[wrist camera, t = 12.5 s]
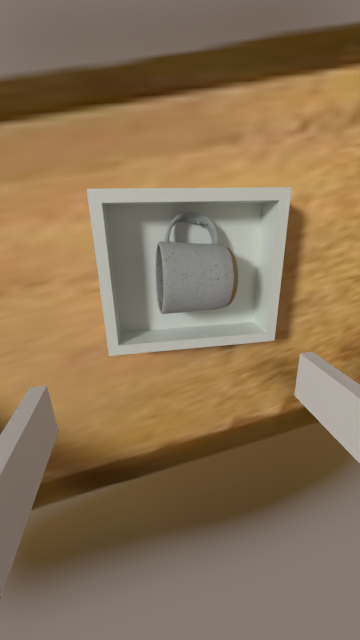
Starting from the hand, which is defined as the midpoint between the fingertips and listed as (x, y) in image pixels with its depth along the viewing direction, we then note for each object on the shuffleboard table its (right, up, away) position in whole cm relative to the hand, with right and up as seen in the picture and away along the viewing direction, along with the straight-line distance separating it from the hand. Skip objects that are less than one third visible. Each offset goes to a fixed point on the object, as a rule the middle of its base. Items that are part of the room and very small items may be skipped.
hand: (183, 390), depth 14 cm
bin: (+1, +10, +20) cm, 22 cm away
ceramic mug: (0, +11, +18) cm, 21 cm away
